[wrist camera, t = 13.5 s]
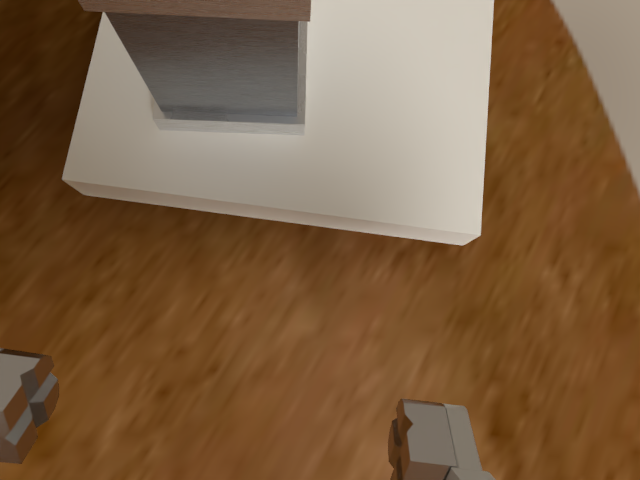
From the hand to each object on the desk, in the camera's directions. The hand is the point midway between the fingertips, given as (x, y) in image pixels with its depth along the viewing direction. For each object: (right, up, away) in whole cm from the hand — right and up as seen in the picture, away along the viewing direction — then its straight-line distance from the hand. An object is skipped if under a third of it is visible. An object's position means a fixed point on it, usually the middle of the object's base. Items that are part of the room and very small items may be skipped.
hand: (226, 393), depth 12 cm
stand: (+1, +10, +12) cm, 16 cm away
